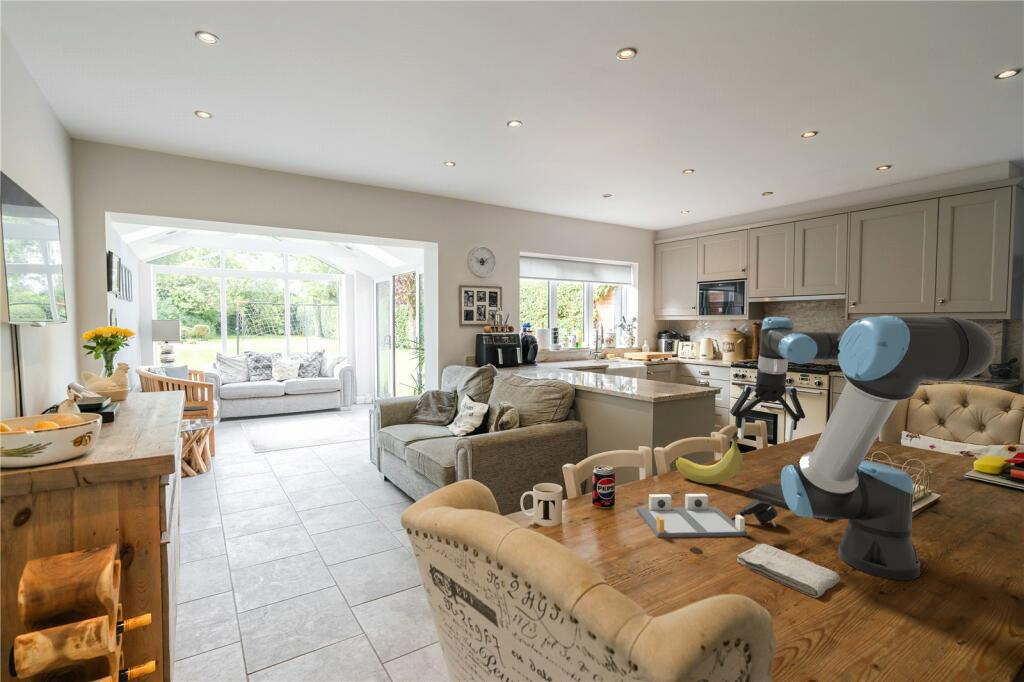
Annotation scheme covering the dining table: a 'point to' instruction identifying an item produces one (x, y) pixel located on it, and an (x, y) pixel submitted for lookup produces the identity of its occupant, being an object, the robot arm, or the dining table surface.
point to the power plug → (760, 511)
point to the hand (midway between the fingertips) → (764, 438)
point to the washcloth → (789, 569)
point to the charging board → (689, 518)
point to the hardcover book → (771, 495)
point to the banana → (713, 466)
